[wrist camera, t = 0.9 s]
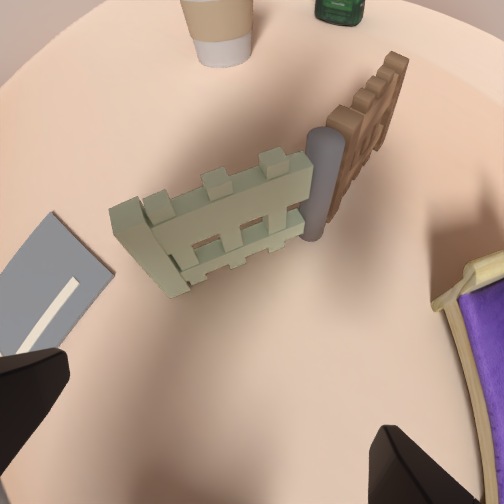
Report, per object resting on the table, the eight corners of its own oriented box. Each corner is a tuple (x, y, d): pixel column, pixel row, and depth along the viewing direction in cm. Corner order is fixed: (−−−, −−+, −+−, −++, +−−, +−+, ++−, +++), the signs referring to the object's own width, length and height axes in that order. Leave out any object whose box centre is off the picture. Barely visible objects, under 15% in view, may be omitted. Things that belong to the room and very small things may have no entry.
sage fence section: (315, 214, 25) (332, 123, 16) (327, 235, 24) (352, 147, 15) (163, 277, 23) (107, 205, 15) (171, 301, 22) (114, 238, 14)
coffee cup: (201, 41, 39) (185, -48, 26) (263, 41, 38) (258, -54, 25) (182, 73, 36) (157, -31, 22) (253, 73, 34) (245, -41, 21)
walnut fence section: (328, 223, 25) (352, 130, 16) (311, 213, 26) (327, 117, 16) (383, 142, 29) (409, 58, 20) (369, 134, 29) (391, 50, 20)
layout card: (12, 413, 19) (9, 412, 19) (-34, 330, 22) (-36, 329, 22) (114, 276, 24) (112, 274, 24) (51, 213, 27) (49, 211, 27)
